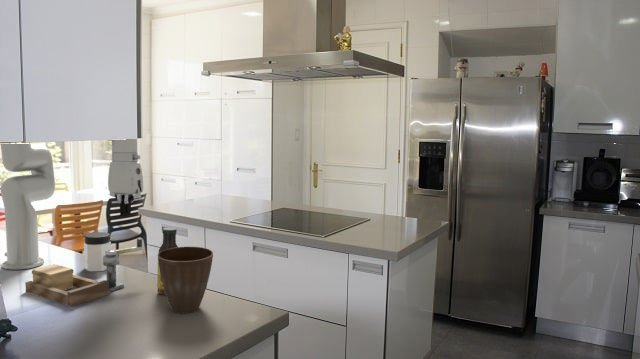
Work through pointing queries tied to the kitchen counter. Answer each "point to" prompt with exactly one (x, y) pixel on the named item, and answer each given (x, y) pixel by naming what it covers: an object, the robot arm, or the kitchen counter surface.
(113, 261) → the winch post
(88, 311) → the kitchen counter surface
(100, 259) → the jar
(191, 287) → the plant pot
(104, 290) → the bay
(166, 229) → the sauce bottle
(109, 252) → the crank
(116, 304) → the kitchen counter surface
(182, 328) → the kitchen counter surface
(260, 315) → the kitchen counter surface
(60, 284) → the tan wooden block
